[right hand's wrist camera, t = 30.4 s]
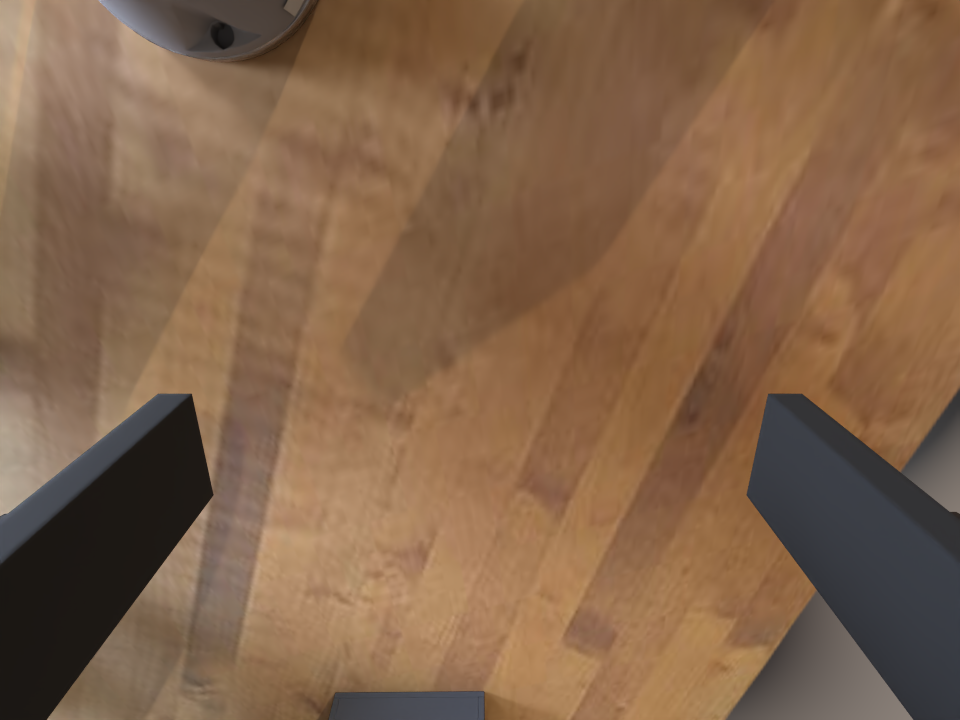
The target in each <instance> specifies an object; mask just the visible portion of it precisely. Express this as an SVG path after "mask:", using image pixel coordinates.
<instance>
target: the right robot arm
mask: <svg viewBox="0 0 960 720" xmlns="http://www.w3.org/2000/svg"><path fill="white" fill-rule="evenodd" d="M99 1H100V2H101V3H102V4H103V5H104V6H105V7H106V8H107V9H108V10H109V11H110V12H111V13H112V14H113V15H114V16H115V17H117V18H118V19H119V20H120V21H121V22H123V23H124V24H125V25H127V26H128V27H129V28H131V29H132V30H133V31H135V32H136V33H138V34H139V35H141V36H142V37H144V38H145V39H147V40H149V41H150V42H152V43H154V44H156V45H158V46H160V47H162V48H165V49H167V50H170V51H172V52H175V53H179V54H182V55H185V56H189V57H193V58H196V59H201V60H206V61H215V62H234V61H241V60H247V59H250V58H254V57H257V56H260V55H262V54H265V53H267V52H269V51H271V50H273V49H274V48H276V47H278V46H279V45H281V44H282V43H284V42H285V41H286V40H287V39H289V38H290V37H291V36H292V35H293V34H294V33H295V32H296V31H297V30H298V29H299V28H300V27H301V26H302V24H303V23H304V22H305V21H306V19H307V18H308V16H309V15H310V14H311V12H312V10H313V8H314V7H315V5H316V3H317V1H318V0H99ZM212 496H213V491H212V486H211V481H210V477H209V472H208V467H207V463H206V458H205V453H204V449H203V444H202V439H201V435H200V430H199V425H198V421H197V416H196V411H195V407H194V402H193V397H192V394H157V395H156V396H155V397H154V398H152V399H151V400H150V401H149V402H147V403H146V404H145V405H144V406H142V407H141V408H140V409H139V410H137V411H136V412H135V413H134V414H132V415H131V416H130V417H129V418H127V419H126V420H125V421H124V422H122V423H121V424H120V425H119V426H117V427H116V428H115V429H114V430H112V431H111V432H110V433H109V434H107V435H106V436H105V437H103V438H102V439H101V440H100V441H98V442H97V443H96V444H95V445H93V446H92V447H91V448H90V449H88V450H87V451H86V452H85V453H83V454H82V455H81V456H80V457H78V458H77V459H76V460H75V461H73V462H72V463H71V464H70V465H68V466H67V467H66V468H65V469H63V470H62V471H61V472H60V473H58V474H57V475H56V476H55V477H53V478H52V479H51V480H50V481H48V482H47V483H46V484H45V485H43V486H42V487H41V488H40V489H38V490H37V491H36V492H35V493H33V494H32V495H31V496H30V497H28V498H27V499H26V500H25V501H23V502H22V503H21V504H20V505H18V506H17V507H16V508H15V509H13V510H12V511H11V512H10V513H8V514H4V515H2V516H0V720H47V718H48V717H49V716H50V714H51V713H52V712H53V710H54V709H55V708H56V706H57V705H58V704H59V702H60V701H61V700H62V698H63V697H64V696H65V694H66V693H67V691H68V690H69V689H70V687H71V686H72V685H73V683H74V682H75V681H76V679H77V678H78V677H79V675H80V674H81V673H82V671H83V670H84V669H85V667H86V666H87V665H88V663H89V662H90V661H91V659H92V658H93V657H94V655H95V654H96V652H97V651H98V650H99V648H100V647H101V646H102V644H103V643H104V642H105V640H106V639H107V638H108V636H109V635H110V634H111V632H112V631H113V630H114V628H115V627H116V626H117V624H118V623H119V622H120V620H121V619H122V618H123V616H124V615H125V613H126V612H127V611H128V609H129V608H130V607H131V605H132V604H133V603H134V601H135V600H136V599H137V597H138V596H139V595H140V593H141V592H142V591H143V589H144V588H145V587H146V585H147V584H148V583H149V581H150V580H151V579H152V577H153V576H154V574H155V573H156V572H157V570H158V569H159V568H160V566H161V565H162V564H163V562H164V561H165V560H166V558H167V557H168V556H169V554H170V553H171V552H172V550H173V549H174V548H175V546H176V545H177V544H178V542H179V541H180V540H181V538H182V537H183V535H184V534H185V533H186V531H187V530H188V529H189V527H190V526H191V525H192V523H193V522H194V521H195V519H196V518H197V517H198V515H199V514H200V513H201V511H202V510H203V509H204V507H205V506H206V505H207V503H208V502H209V501H210V499H211V498H212ZM747 496H748V498H749V499H750V501H751V502H752V503H753V505H754V506H755V507H756V509H757V510H758V511H759V513H760V514H761V515H762V517H763V518H764V519H765V521H766V522H767V523H768V525H769V526H770V527H771V529H772V530H773V531H774V533H775V534H776V535H777V537H778V538H779V540H780V541H781V542H782V544H783V545H784V546H785V548H786V549H787V550H788V552H789V553H790V554H791V556H792V557H793V558H794V560H795V561H796V562H797V564H798V565H799V566H800V568H801V569H802V570H803V572H804V573H805V574H806V576H807V577H808V579H809V580H810V581H811V583H812V584H813V585H814V587H815V588H816V589H817V591H818V592H819V593H820V595H821V596H822V597H823V599H824V600H825V601H826V603H827V604H828V605H829V607H830V608H831V609H832V611H833V612H834V613H835V615H836V616H837V618H838V619H839V620H840V622H841V623H842V624H843V626H844V627H845V628H846V630H847V631H848V632H849V634H850V635H851V636H852V638H853V639H854V640H855V642H856V643H857V644H858V646H859V647H860V648H861V650H862V651H863V652H864V654H865V655H866V657H867V658H868V659H869V660H870V662H871V663H872V665H873V666H874V667H875V669H876V670H877V671H878V673H879V674H880V675H881V677H882V678H883V679H884V681H885V682H886V683H887V685H888V686H889V687H890V689H891V690H892V691H893V693H894V694H895V696H896V697H897V698H898V700H899V701H900V702H901V704H902V705H903V706H904V708H905V709H906V710H907V712H908V713H909V714H910V716H911V717H912V718H913V720H960V514H959V513H957V512H949V511H948V510H947V509H945V508H944V507H943V506H942V505H940V504H939V503H938V502H937V501H935V500H934V499H933V498H932V497H930V496H929V495H928V494H927V493H925V492H924V491H923V490H922V489H920V488H919V487H918V486H917V485H915V484H914V483H913V482H912V481H910V480H909V479H908V478H907V477H905V476H904V475H903V474H902V473H900V472H899V471H898V470H897V469H895V468H894V467H893V466H892V465H890V464H889V463H888V462H887V461H885V460H884V459H883V458H882V457H880V456H879V455H878V454H877V453H875V452H874V451H873V450H872V449H870V448H869V447H868V446H867V445H865V444H864V443H863V442H862V441H860V440H859V439H858V438H856V437H855V436H854V435H853V434H851V433H850V432H849V431H848V430H846V429H845V428H844V427H843V426H841V425H840V424H839V423H838V422H836V421H835V420H834V419H833V418H831V417H830V416H829V415H828V414H826V413H825V412H824V411H823V410H821V409H820V408H819V407H818V406H816V405H815V404H814V403H813V402H811V401H810V400H809V399H808V398H806V397H805V396H804V395H803V394H768V397H767V402H766V407H765V411H764V416H763V421H762V425H761V430H760V435H759V439H758V444H757V449H756V453H755V458H754V463H753V467H752V472H751V477H750V481H749V486H748V491H747Z"/></svg>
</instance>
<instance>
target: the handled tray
mask: <svg viewBox="0 0 960 720" xmlns="http://www.w3.org/2000/svg"><path fill="white" fill-rule="evenodd" d="M329 720H485V708H484V691H481V692H360V693H335V696H334V700H333V704H332V708H331V712H330V716H329Z"/></svg>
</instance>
